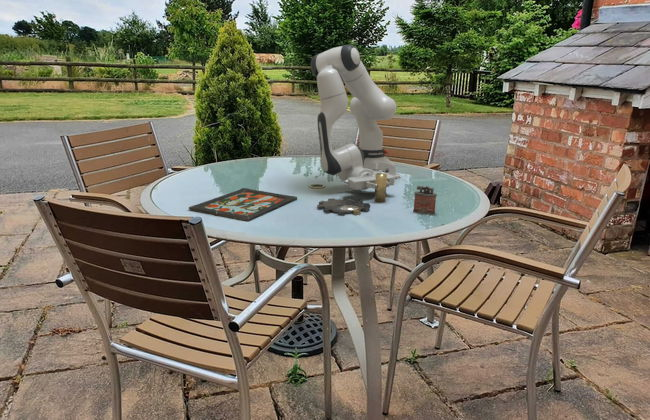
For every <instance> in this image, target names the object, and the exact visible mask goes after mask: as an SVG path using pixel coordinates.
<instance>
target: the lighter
mask: <svg viewBox="0 0 650 420" xmlns="http://www.w3.org/2000/svg"><path fill="white" fill-rule="evenodd" d="M416 190H418V191H414V202H413V209H412V210H413V213H416V214H422V215H435V214H436V201H437V193H436V192H434V191H435V190H434V187H431V186H428V185H426V186H424V185H417V186H416Z"/></svg>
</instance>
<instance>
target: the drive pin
mask: <svg viewBox="0 0 650 420" xmlns="http://www.w3.org/2000/svg"><path fill="white" fill-rule="evenodd" d="M375 183H376V184H377V185H378V186H377V188H375V189H374V203H379V204H381V203H386V199H387V187H386V184H387V174H384V173H377V174H376V180H375Z"/></svg>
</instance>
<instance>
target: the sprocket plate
mask: <svg viewBox="0 0 650 420" xmlns="http://www.w3.org/2000/svg"><path fill="white" fill-rule="evenodd" d="M316 207H317V210H318V211H319V210H323V211H322V212H323V213H325V214H331V213H332V214H337V216H341V217H342V216H343V217H344V216H345V215H353V216H358V215H359V216H360V215H361V214H362V212H363V213H368V212H369V211H371V204H370V203H369V202H364V200H362V199H356V200H355V199H350V198H349V197H343V198H339V199H336V198H334V197H332V198H328V200H327V201H326V200H320V201H319V202H318V204H317V205H316Z"/></svg>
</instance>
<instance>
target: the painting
mask: <svg viewBox="0 0 650 420" xmlns="http://www.w3.org/2000/svg"><path fill="white" fill-rule="evenodd" d="M297 200H298V196H295V195H294V196H293V195H287V194H282V193H275V192H271V191H264V190H259V189H252V188H247V187H242V188H240V189H238V190H235V191H232V192H229V193H227V194H224V195H221V196H218V197H215V198H212V199H209V200H206V201H203V202H200V203H198V204H197V203H196V204H195V205H190V206H188V209H189V211H195V212H198V213H203V214H210V215H213V216H215V217H218V216H219V217H225V218H229V219H234V220H239V221H244V222H248V221H252V220H254V219H256V218H259V217H260V216H263V215H265V214H268V213H271V212H273V211H276V210H278V209H280V208H282V207H284V206H285V207H286V205H289V204H291V203H293V202H295V201H297Z"/></svg>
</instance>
